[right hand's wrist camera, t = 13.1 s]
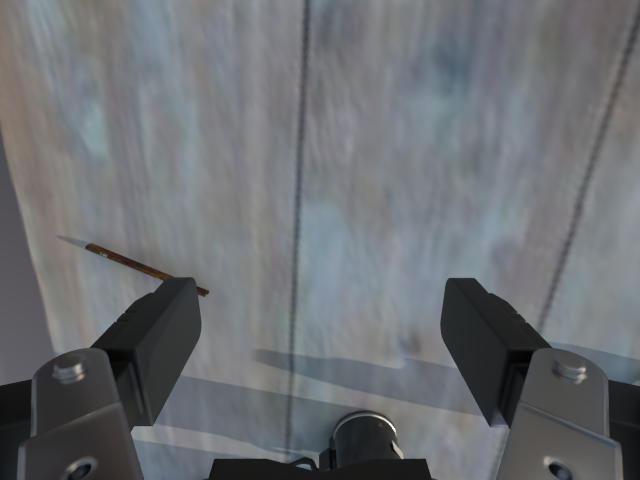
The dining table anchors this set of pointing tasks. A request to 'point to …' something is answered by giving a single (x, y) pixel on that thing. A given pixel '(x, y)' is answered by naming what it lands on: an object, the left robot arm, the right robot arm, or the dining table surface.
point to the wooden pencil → (135, 265)
